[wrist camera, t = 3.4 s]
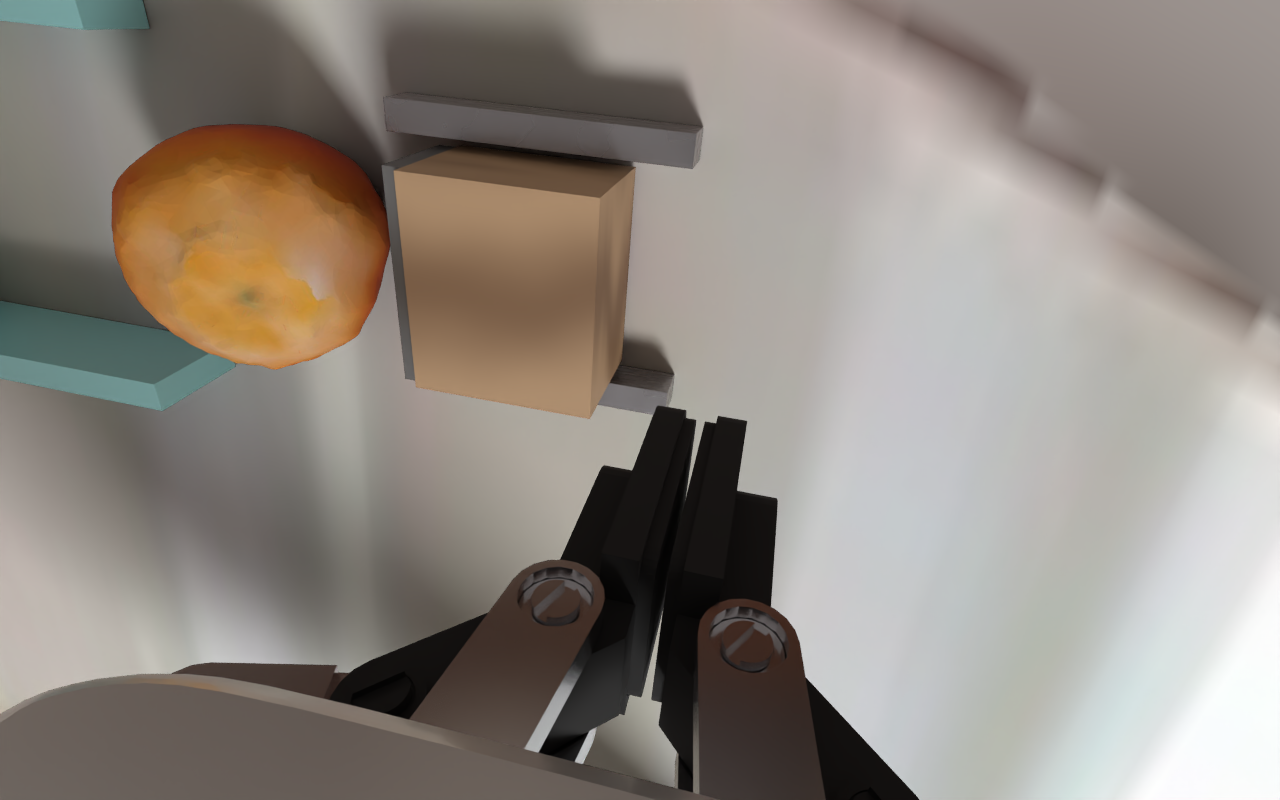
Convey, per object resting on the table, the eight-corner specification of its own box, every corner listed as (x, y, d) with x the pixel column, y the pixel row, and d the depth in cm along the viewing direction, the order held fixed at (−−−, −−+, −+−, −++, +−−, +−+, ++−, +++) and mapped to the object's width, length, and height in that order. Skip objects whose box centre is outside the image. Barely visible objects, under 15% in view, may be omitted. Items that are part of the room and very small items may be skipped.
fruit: (162, 29, 22) (88, 130, 16) (410, 127, 26) (417, 234, 20) (138, 237, 26) (73, 373, 21) (355, 294, 30) (348, 420, 25)
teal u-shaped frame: (235, 366, 30) (162, 411, 27) (-13, 320, 32) (-111, 356, 29) (139, -13, 23) (22, -18, 19) (-175, -43, 25) (-332, -53, 21)
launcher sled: (621, 359, 25) (589, 419, 22) (457, 331, 26) (399, 384, 23) (635, 167, 22) (600, 198, 18) (445, 143, 23) (374, 167, 19)
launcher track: (671, 397, 26) (664, 416, 25) (430, 355, 28) (412, 371, 26) (703, 126, 21) (696, 133, 20) (407, 92, 23) (383, 97, 21)
